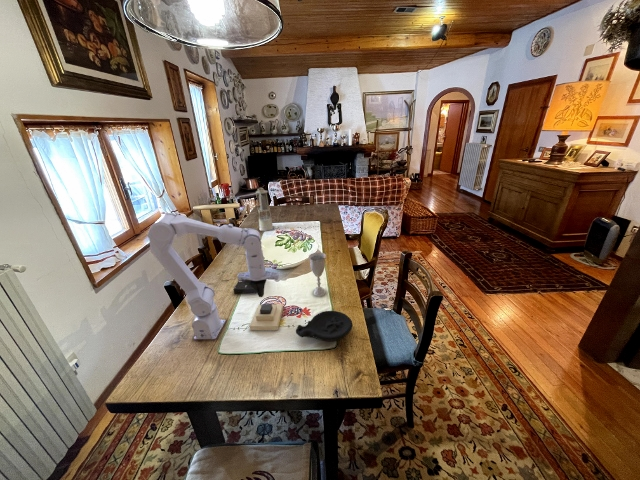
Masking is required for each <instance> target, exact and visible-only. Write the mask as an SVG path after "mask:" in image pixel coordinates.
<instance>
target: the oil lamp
mask: <svg viewBox="0 0 640 480" xmlns="http://www.w3.org/2000/svg"><path fill="white" fill-rule="evenodd" d="M352 329H353V321H352V319H351V317H349V316H348V315H347V314H346V313H343V312H340V311H337V310H324V311H321V312H319V313H317V314H316V315H314V316H313V317H312V318H311V320H308V321H307V324H306V325H301V324H298V325H297V327H296V329H295V334H296V335H297V336H299V337H300V338H312V339H315V340H316V339H317V340H320V341H323V342H328V343H332V342H337V341H340V340H341V339H343V338H345V337H346V336H347V335H349V333H350V332H351V331H352Z"/></svg>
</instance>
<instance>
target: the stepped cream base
mask: <svg viewBox="0 0 640 480" xmlns="http://www.w3.org/2000/svg"><path fill="white" fill-rule="evenodd" d="M271 304H272V303H271ZM261 306H262V304H258V305H257V306H256V309H255V311H254V315H253V317H252V319H251V320H250V321H251V322H250V324H249V330H250V331H278V330H279V326H280V323H281V318H282V315H283V311H284V304H282V303H281V304H280V303H279V304H274V303H273V304H272V310H271V313H270V314H261V313H260V309H261Z"/></svg>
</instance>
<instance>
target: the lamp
mask: <svg viewBox="0 0 640 480" xmlns="http://www.w3.org/2000/svg"><path fill="white" fill-rule="evenodd" d="M268 192H269V191H268V190H265V189H264V188H263V187H260V188H257V190H256V191H255V196H256V197H258V200H259V201H258V200H256V205H257V209H256V210H257V212H258V226H259V229H258V231H261V232H266V231H267V232H269V231H272V230H273V229H274V226H273V225H274V224H273V219H272V214H271V212H270V211H271V208H270V206H269V199H268ZM258 202H259V203H258ZM263 212H264V213H265V215H264V216H261V213H263ZM268 212H269V215H270V216H269V215H268Z"/></svg>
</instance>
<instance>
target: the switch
mask: <svg viewBox="0 0 640 480" xmlns="http://www.w3.org/2000/svg"><path fill="white" fill-rule="evenodd" d="M261 305H262V306H261V309H260V313H261V314H270V313H271V310H272V303H262V304H261Z"/></svg>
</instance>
